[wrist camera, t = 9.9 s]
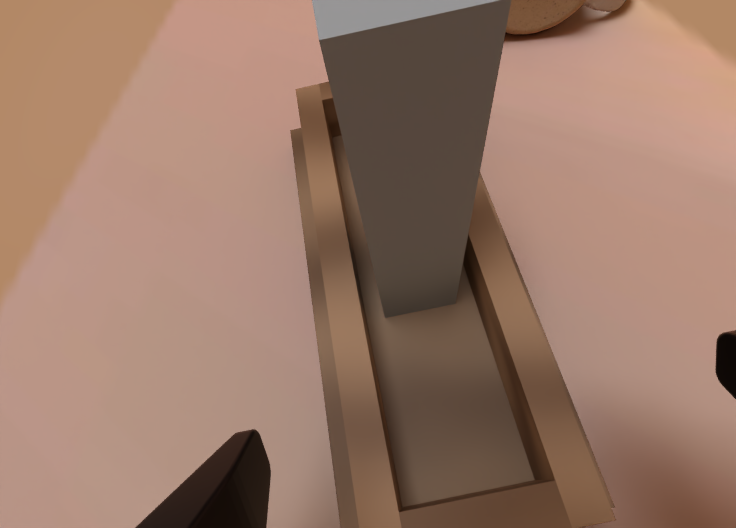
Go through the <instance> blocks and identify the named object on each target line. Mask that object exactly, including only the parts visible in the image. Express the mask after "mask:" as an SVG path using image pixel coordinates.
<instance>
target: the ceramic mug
mask: <svg viewBox="0 0 736 528" xmlns="http://www.w3.org/2000/svg"><path fill="white" fill-rule="evenodd" d="M625 1H626V0H511V5H510V10H509V16H508V21H507V26H506V32H507V33H510V34H531V33H536V32H539V31H542V30H545V29H548V28H551V27H553V26H555V25H557V24H559V23H561V22H562V21H564V20H565V19H567V18H568V17H570V16H571V15H572V14H573V13H574V12H575V11H577V10H578V9H579V8H580V7H581V6H582V5H585V6H586V7H589V8H591V9H594V10H600V11H606V12H610V11H615V10H617V9H618V8H620V7H621V6H622V5H623V3H624V2H625Z"/></svg>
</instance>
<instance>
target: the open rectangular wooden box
mask: <svg viewBox="0 0 736 528" xmlns="http://www.w3.org/2000/svg"><path fill="white" fill-rule="evenodd" d="M296 95H297V102H298V109H299V115H300V122H301V128H299V129H294V130H290V131H291V139H292V147H293V155H294V163H295V171H296V179H297V187H298V194H299V202H300V210H301V218H302V226H303V234H304V242H305V250H306V258H307V265H308V273H309V281H310V289H311V297H312V305H313V313H314V321H315V329H316V336H317V344H318V352H319V360H320V368H321V376H322V384H323V392H324V400H325V408H326V415H327V423H328V431H329V439H330V447H331V455H332V463H333V471H334V479H335V486H336V494H337V502H338V510H339V518H340V526H341V528H580V527H585V526H590V525H595V524H600V523H605V522H610V521H615V520H616V519H615V516H614V514H613V511H612V509H611V508H614V507H615V506H614V504H613V501H612V499H611V496H610V494H609V492H608V489H607V487H606V484H605V482H604V479H603V477H602V474H601V472H600V469H599V467H598V464H597V462H596V459H595V457H594V454H593V452H592V449H591V447H590V444H589V442H588V439H587V437H586V434H585V432H584V429H583V427H582V424H581V422H580V419H579V417H578V414H577V412H576V410H575V407H574V405H573V402H572V400H571V397H570V395H569V392H568V390H567V387H566V385H565V382H564V380H563V377H562V375H561V372H560V370H559V367H558V365H557V362H556V360H555V357H554V355H553V352H552V350H551V347H550V345H549V342H548V340H547V337H546V335H545V333H544V330H543V328H542V325H541V323H540V320H539V318H538V315H537V313H536V310H535V308H534V305H533V303H532V300H531V298H530V295H529V293H528V290H527V288H526V285H525V283H524V280H523V278H522V275H521V273H520V270H519V268H518V265H517V263H516V260H515V258H514V255H513V253H512V251H511V248H510V246H509V243H508V241H507V238H506V236H505V233H504V231H503V228H502V226H501V223H500V221H499V218H498V216H497V213H496V211H495V208H494V206H493V203H492V201H491V198H490V196H489V193H488V191H487V188H486V186H485V183H484V181H483V178H482V176H481V174H480V173H479V178H478V184H477V189H476V194H475V200H474V205H473V211H472V216H471V221H470V227H469V232H468V238H467V243H466V249H465V254H464V259H463V265H462V270H461V276H460V281H459V286H458V292H457V297H456V303H455V304H452V305H447V306H442V307H437V308H432V309H427V310H422V311H417V312H412V313H407V314H402V315H397V316H392V317H387V318H385V316H384V312H383V308H382V304H381V299H380V295H379V291H378V287H377V282H376V278H375V274H374V270H373V265H372V261H371V257H370V253H369V249H368V244H367V240H366V236H365V232H364V227H363V223H362V219H361V215H360V211H359V206H358V202H357V198H356V194H355V189H354V185H353V181H352V177H351V173H350V168H349V164H348V160H347V156H346V151H345V147H344V143H343V139H342V134H341V130H340V126H339V122H338V118H337V113H336V109H335V105H334V101H333V96H332V92H331V88H330V84H329V82H326V83H321V84H317V85H312V86H308V87H304V88H299V89H296Z"/></svg>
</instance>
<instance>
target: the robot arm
mask: <svg viewBox="0 0 736 528" xmlns="http://www.w3.org/2000/svg"><path fill="white" fill-rule="evenodd" d="M716 375H717V377H718V380H719V381H720V383H721V384H722V385H723V386H724V387H725V389H726V390H727V391H728V392H729V393H730V394H731V395H732V396H733V397H734V398H735V399H736V330H735V331H730V332H725V333H722V334H721V335H719V337H718V338H717V344H716ZM270 477H271V470H270V463H269V460H268V457H267V454H266V451H265V448H264V445H263V443H262V440H261V437H260V434H259V433H258V431H256V430H255V429H252V430H247V431H242V432H238V433H235V434H234V435H233V436H232V437H231V438H230V439H229V440H227V441H226V442H225V443H224V444H223V445H222V446H221V447H220V448H219V449H218V450H217V451H216V452H215V453H214V454H213V455H212V456H211V457H210V458H208V459H207V460H206V461H205V462H204V463H203V464H202V465H201V466H200V467H199V468H198V469H197V470H196V471H195V472H194V473H193V474H192V475H190V476H189V477H188V478H187V479H186V480H185V481H184V482H183V483H182V484H181V485H180V486H179V487H178V488H177V489H176V490H175V491H174V492H173V493H171V494H170V495H169V496H168V497H167V498H166V499H165V500H164V501H163V502H162V503H161V504H160V505H159V506H158V507H157V508H156V509H155V510H153V511H152V512H151V513H150V514H149V515H148V516H147V517H146V518H145V519H144V520H143V521H142V522H141V523H140V524H139V525H138V526H137V527H136V528H266V524H267V513H268V501H269V489H270Z"/></svg>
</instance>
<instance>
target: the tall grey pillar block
mask: <svg viewBox="0 0 736 528" xmlns="http://www.w3.org/2000/svg"><path fill="white" fill-rule="evenodd" d="M312 3H313V9H314V14H315V20H316V25H317V31H318V36H319V41H320V46H321V50H322V54H323V58H324V63H325V67H326V71H327V75H328V80H329V84H330V88H331V92H332V96H333V101H334V105H335V109H336V113H337V118H338V122H339V126H340V130H341V134H342V139H343V143H344V147H345V151H346V156H347V160H348V164H349V168H350V173H351V177H352V181H353V185H354V189H355V194H356V198H357V202H358V206H359V211H360V215H361V219H362V223H363V227H364V232H365V236H366V240H367V244H368V249H369V253H370V257H371V261H372V265H373V270H374V274H375V278H376V282H377V287H378V291H379V295H380V299H381V304H382V308H383V312H384V316H385V318H387V317H392V316H397V315H402V314H407V313H412V312H417V311H422V310H427V309H432V308H437V307H442V306H447V305H452V304H455V303H456V297H457V292H458V286H459V281H460V276H461V270H462V265H463V259H464V254H465V249H466V243H467V238H468V232H469V227H470V221H471V216H472V211H473V205H474V200H475V194H476V189H477V184H478V178H479V173H480V167H481V162H482V156H483V151H484V146H485V140H486V135H487V129H488V124H489V119H490V113H491V108H492V102H493V97H494V91H495V86H496V81H497V75H498V70H499V64H500V59H501V54H502V48H503V43H504V37H505V32H506V26H507V21H508V16H509V10H510V5H511V0H312Z"/></svg>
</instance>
